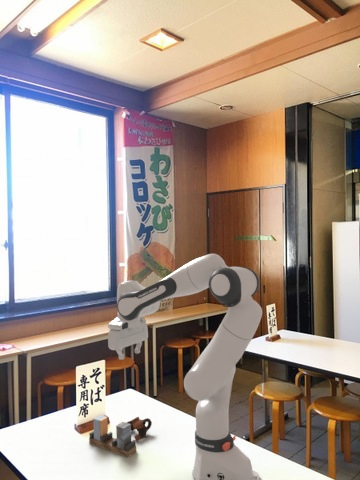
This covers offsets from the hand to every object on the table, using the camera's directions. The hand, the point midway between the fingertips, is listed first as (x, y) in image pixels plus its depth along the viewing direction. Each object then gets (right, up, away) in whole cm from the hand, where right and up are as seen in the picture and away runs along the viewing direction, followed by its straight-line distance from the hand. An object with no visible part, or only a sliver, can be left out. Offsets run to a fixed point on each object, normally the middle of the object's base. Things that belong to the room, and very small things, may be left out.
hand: (129, 356), depth 159 cm
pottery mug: (+3, -34, +5) cm, 35 cm away
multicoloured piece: (-11, -32, 0) cm, 34 cm away
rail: (-6, -34, -3) cm, 35 cm away
